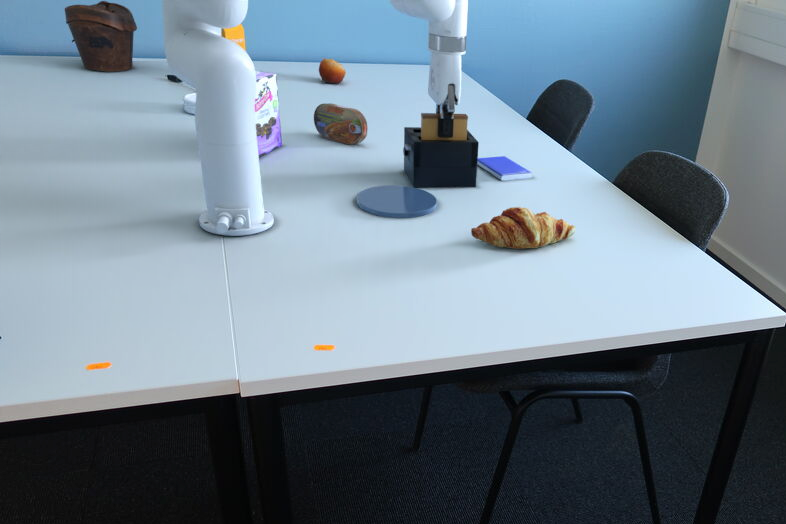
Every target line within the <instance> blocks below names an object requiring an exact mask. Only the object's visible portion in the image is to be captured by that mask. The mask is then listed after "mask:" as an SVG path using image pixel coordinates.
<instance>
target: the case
mask: <svg viewBox="0 0 786 524" xmlns="http://www.w3.org/2000/svg"><path fill="white" fill-rule="evenodd" d="M64 15H65V24H67V25H68V29H69V31H70V33H71V36H72V38H73V39H72V40H71V43H74V44H75V47H76V49H77V51H78V55H79V56H80V59H81V62H82V64H83V67H84V68H85V69H88V70H91V71H97V72H124V71H129V70H131V69H133V68H134V65H133V54H134V33H135V31H137V30H138V26H137V22H136V21H135V17H134V15H133V13H132V11H131V10H130V9H129V8H128V7H126V6H124V5H122V4H119V3H116V2H109V1H106V0H101V1H99V2H97V3H94V4H90V5H87V4H72V5H68V6H65V8H64Z"/></svg>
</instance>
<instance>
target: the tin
mask: <svg viewBox="0 0 786 524" xmlns="http://www.w3.org/2000/svg"><path fill="white" fill-rule="evenodd" d="M313 122H314V127H315V129H316V132H318V134H319V135H320V136H321V137H322V138H324V139H326V140H329V141H330V140H331V141H335V142H338V143H342V144H345V145H350V146H353V145H356V144H361V143H362V142H364V140H365V139H366V138H367V136H368V122H367V118H366V117H365V115H364V114H363V113H362V112H361V111H360V110H358V109H356V108H353V107H348V106H343V105H340V104H336V103H332V102H331V103H330V102H329V103H328V102H327V103H321V104H319V105H318V106H316V108H315V110H314V113H313Z"/></svg>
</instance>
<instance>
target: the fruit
mask: <svg viewBox="0 0 786 524" xmlns="http://www.w3.org/2000/svg"><path fill="white" fill-rule="evenodd" d="M318 73H319V77H320V78H321V81H322V85H323V84H325V83H330V84H336V85H339V84H341V83H342V82H343V80H344V79H345V76H346V70H345V68H344V66H343V65H342V64H341V63H339V62H338V61H337V60H334V59H332V58H323V59H322V60H321V61H320V63H319V66H318Z"/></svg>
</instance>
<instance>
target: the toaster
mask: <svg viewBox="0 0 786 524" xmlns="http://www.w3.org/2000/svg"><path fill="white" fill-rule="evenodd" d="M403 139H404V140H403V149H402V153H403V172H404V174H405V175H406V177H407V179H408V181H409V183H410V185H411V187H414V188H418V189H431V188H432V189H433V188H434V189H435V188H436V189H437V188H438V189H439V188H440V189H441V188H442V189H443V188H444V189H445V188H477V176H478V164H477V161H478V158H479V141H478V140H477V139H476V138H475V137H474V135H473V134H472V133H471V132H470V131H469V130H468V129H467V140H421V126H420V127H419V126H418V127H415V126H414V127H412V126H410V127H409V126H404V127H403Z"/></svg>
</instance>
